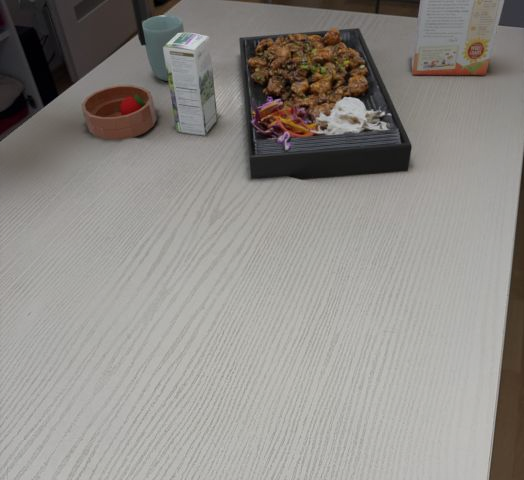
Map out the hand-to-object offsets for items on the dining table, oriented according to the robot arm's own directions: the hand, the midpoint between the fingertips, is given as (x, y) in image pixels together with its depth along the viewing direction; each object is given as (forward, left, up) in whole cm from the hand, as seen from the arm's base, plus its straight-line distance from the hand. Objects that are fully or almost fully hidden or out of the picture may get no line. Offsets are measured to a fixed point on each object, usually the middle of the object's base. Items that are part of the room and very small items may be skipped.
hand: (101, 48), depth 89 cm
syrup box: (+13, +5, -13) cm, 20 cm away
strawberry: (+1, 0, -12) cm, 12 cm away
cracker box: (+47, +43, -13) cm, 65 cm away
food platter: (+29, +19, -13) cm, 37 cm away
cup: (-3, +20, -13) cm, 24 cm away
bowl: (0, 0, -13) cm, 13 cm away
